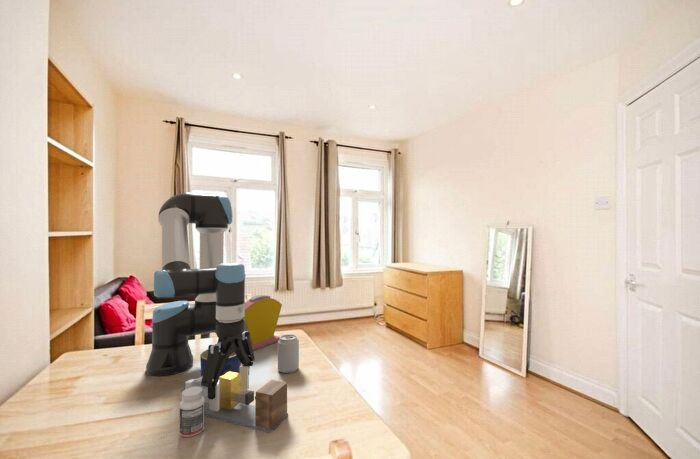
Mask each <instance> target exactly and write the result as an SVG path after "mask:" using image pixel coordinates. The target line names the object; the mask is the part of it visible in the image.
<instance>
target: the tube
mask: <svg viewBox="0 0 700 459" xmlns="http://www.w3.org/2000/svg"><path fill="white" fill-rule="evenodd" d="M196 379H197V378H191V379H189V380H187V381H185V382H184V383H185V384H184V386H185V387H184V388H185V389H188V388H190V387H192V381H194V380H196ZM219 385H220V398H219V407H222V408H226V409H232V408H234V407H235V406H236V405H238V404H239V403H243V404H246V405H249V404H250V405H251V404H252V403H253V402H255V391H254V390H249V389H248V390H245V389H241V373H236V372H231V371H229V372H227V373H226V374H224V375H222V376H221V377H220V378H219ZM185 389H184V390H185Z"/></svg>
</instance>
